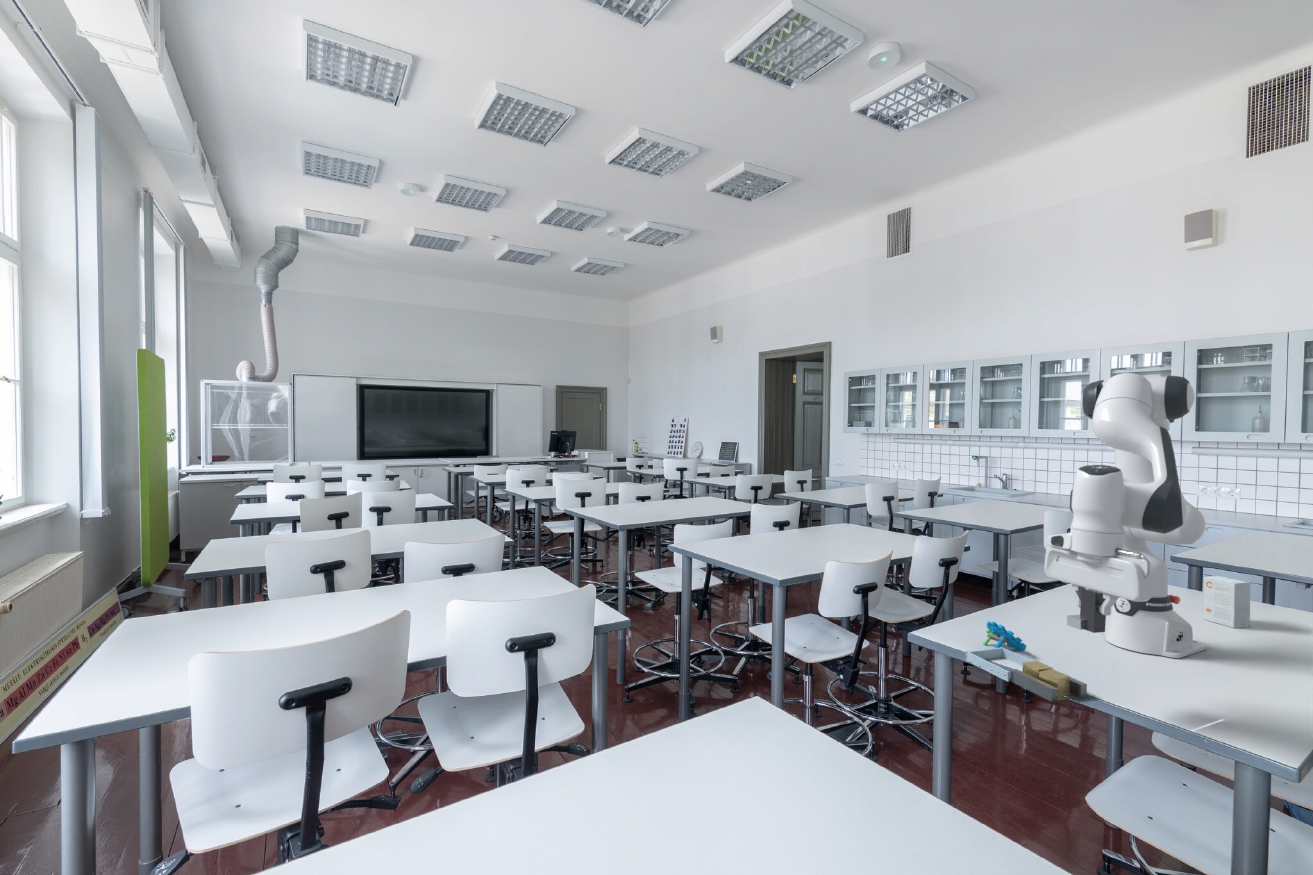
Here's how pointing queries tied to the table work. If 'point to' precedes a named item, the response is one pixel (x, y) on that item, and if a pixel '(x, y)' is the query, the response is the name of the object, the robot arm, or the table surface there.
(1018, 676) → the slot rail
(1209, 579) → the small box
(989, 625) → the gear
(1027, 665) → the tan block
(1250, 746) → the table surface
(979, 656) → the tray
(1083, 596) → the dark grey stepped block
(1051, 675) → the chip
